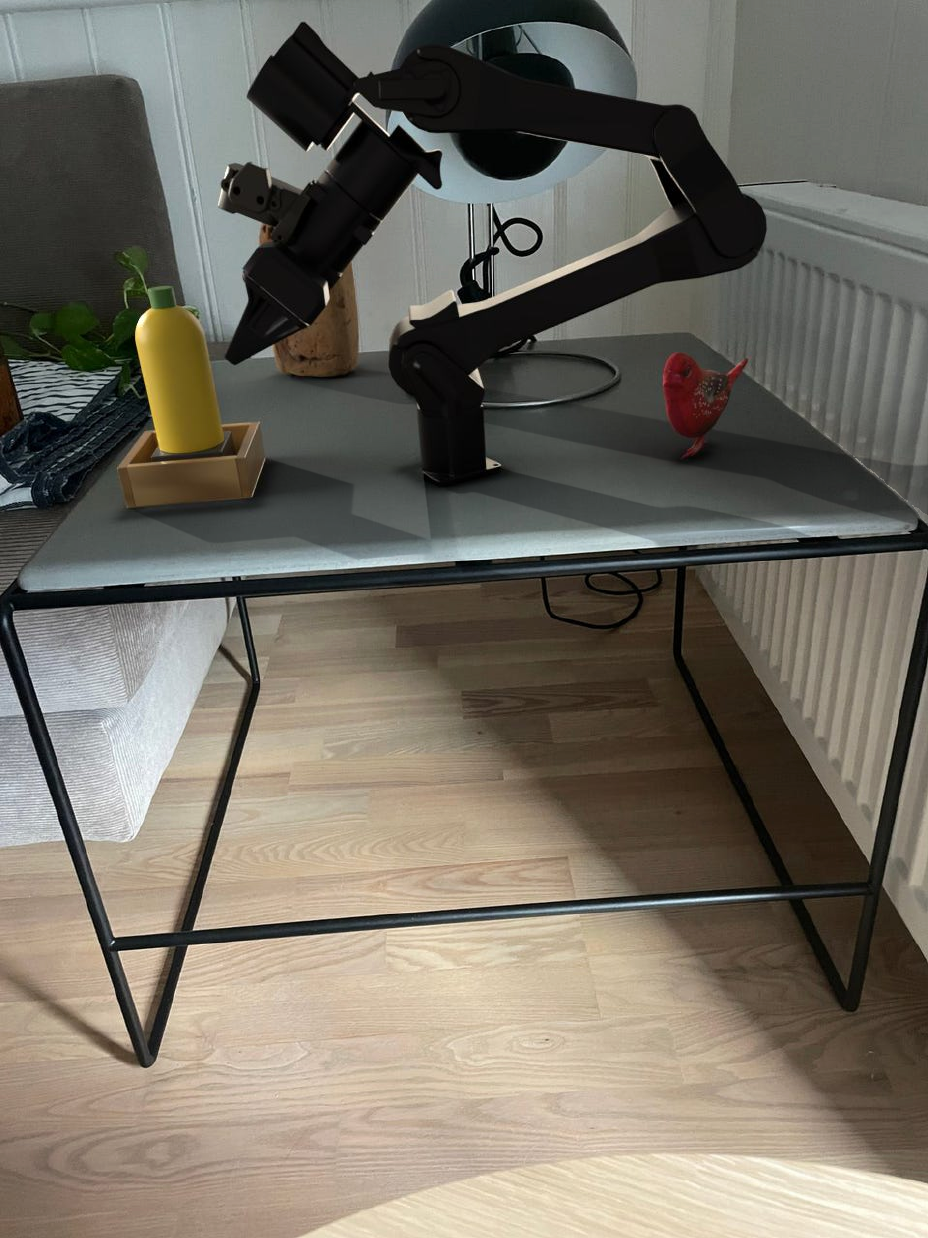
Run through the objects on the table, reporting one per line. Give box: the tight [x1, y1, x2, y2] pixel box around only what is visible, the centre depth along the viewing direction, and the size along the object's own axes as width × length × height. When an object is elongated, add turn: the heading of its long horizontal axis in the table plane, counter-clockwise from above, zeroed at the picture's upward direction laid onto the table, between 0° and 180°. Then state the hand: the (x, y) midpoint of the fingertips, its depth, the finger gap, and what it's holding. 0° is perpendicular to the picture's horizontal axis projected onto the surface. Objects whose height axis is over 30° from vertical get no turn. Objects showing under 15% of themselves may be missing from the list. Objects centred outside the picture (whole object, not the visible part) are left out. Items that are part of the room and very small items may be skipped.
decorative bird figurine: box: [662, 351, 749, 460], centre depth 84 cm, size 3×18×10 cm, turn 143°
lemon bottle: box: [134, 285, 224, 453], centre depth 80 cm, size 6×6×13 cm
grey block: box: [151, 431, 236, 462], centre depth 84 cm, size 6×6×4 cm
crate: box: [116, 421, 266, 509], centre depth 84 cm, size 11×11×4 cm
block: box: [258, 222, 360, 378], centre depth 117 cm, size 11×8×20 cm
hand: (239, 348), depth 79 cm, fingers open, 9 cm apart
